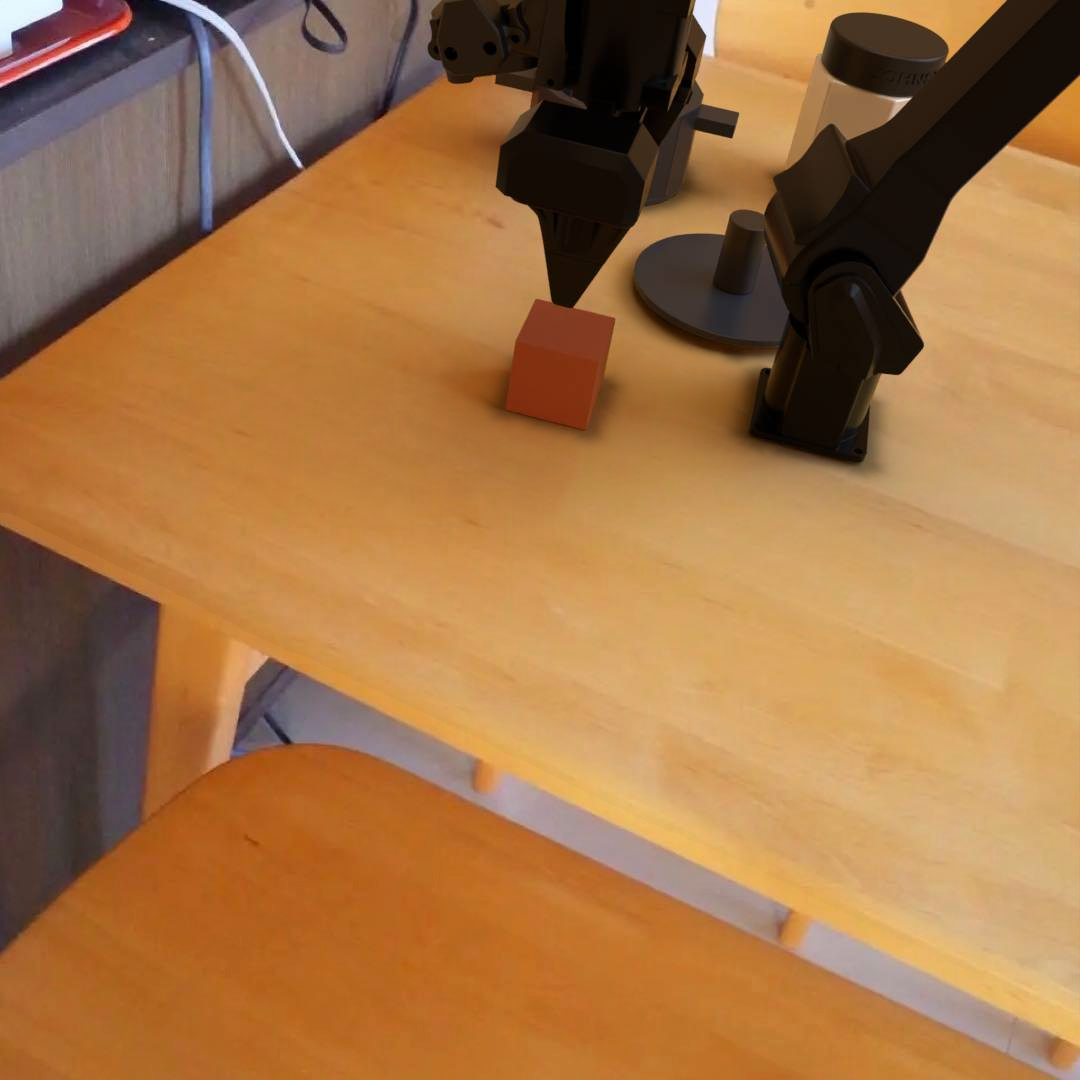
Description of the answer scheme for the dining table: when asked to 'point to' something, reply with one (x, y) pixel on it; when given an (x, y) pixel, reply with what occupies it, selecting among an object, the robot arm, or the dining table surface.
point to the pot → (673, 145)
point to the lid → (716, 283)
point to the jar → (865, 75)
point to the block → (559, 364)
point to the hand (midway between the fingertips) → (583, 260)
